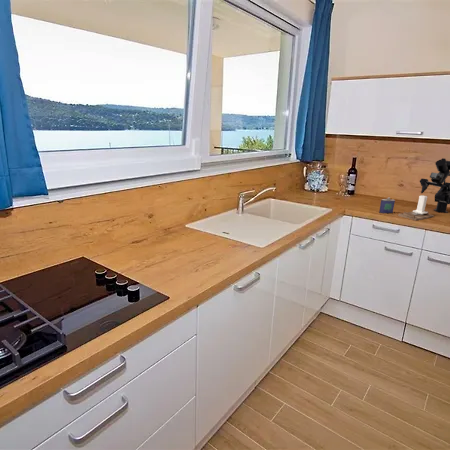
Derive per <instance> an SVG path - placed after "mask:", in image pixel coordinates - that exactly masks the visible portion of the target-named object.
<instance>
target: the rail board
mask: <svg viewBox="0 0 450 450" xmlns="http://www.w3.org/2000/svg"><path fill="white" fill-rule="evenodd" d="M425 211H426V210H425ZM426 212H428V213H426V214H419V213H415V212H413V211H409V212H407V211H403V213H398V214H397V216H398V217H399V218H405V219H408V218H409V219H408V220H411V219H412V221H421V220H425V219H426V220H427V219H430V218H434V217H435V215H433V214H430V211H428V210H427V211H426Z"/></svg>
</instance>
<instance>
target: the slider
mask: <svg viewBox="0 0 450 450" xmlns="http://www.w3.org/2000/svg"><path fill="white" fill-rule="evenodd" d="M427 200H428V195H419V196H418V200H417V201H418V202H417V207H416V209H414V210H412V212H415V213H419V214H426V213H428V212H429V211H427V212H426V206H427Z"/></svg>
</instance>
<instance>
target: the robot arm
mask: <svg viewBox="0 0 450 450" xmlns="http://www.w3.org/2000/svg"><path fill="white" fill-rule="evenodd" d="M434 165H435V167H436V170H437V171H438V172H432V171H431V173H430V175H429V178H430V181H429V179H427V178H421V179H420V180H419V183H420V186H421V191H420V194H423V193H425V191H427V189H428V187H429V186H434V187H437V188H439V189H438V190H437V192H436V193H435V194H434V202H437V203H436V207H435V208H433V211H435V212H437V213H447V214H449V212H448V211H447V208H448V205H450V182H446V180H447V178H448V177H450V160H447V159H446V158H444V157H442V158H441V159H439V160H437V161H436V162H435V163H434Z"/></svg>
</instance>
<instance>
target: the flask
mask: <svg viewBox="0 0 450 450" xmlns="http://www.w3.org/2000/svg"><path fill="white" fill-rule="evenodd" d="M395 203H396V200H395V199H391V197H390V196H389V197H387V198H383V199H380V206H379V211H378V213H379V214H385V215H386V214H393V213H394V207H395Z"/></svg>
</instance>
